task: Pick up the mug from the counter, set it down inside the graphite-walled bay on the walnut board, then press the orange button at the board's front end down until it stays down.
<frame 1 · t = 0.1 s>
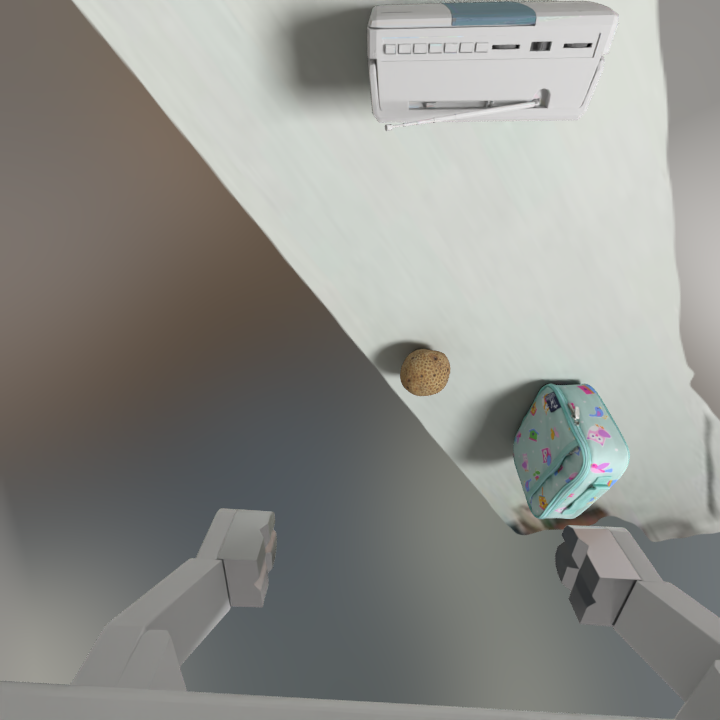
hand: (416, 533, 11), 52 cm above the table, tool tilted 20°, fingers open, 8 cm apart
lunch box: (546, 410, 89), on the table
stereo radio cassette player: (464, 47, 45), on the table
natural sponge: (423, 351, 78), on the table
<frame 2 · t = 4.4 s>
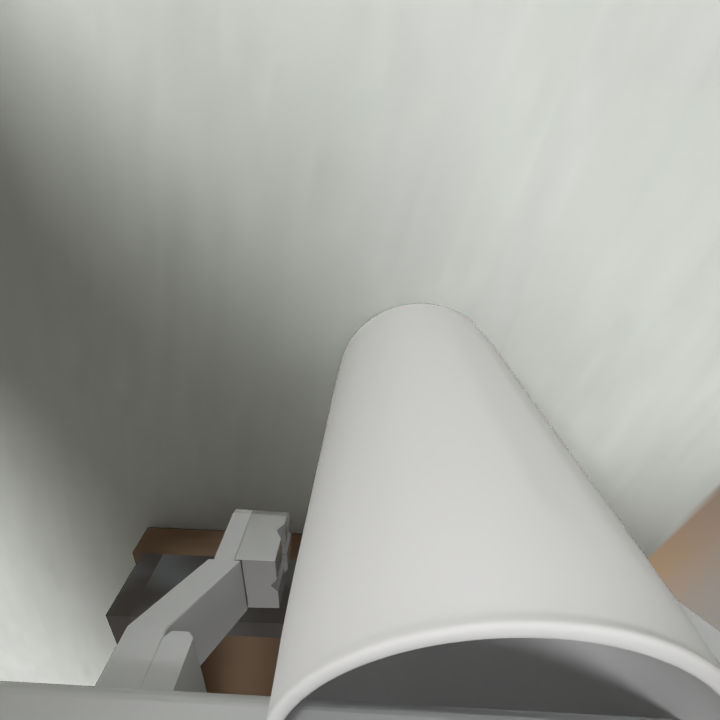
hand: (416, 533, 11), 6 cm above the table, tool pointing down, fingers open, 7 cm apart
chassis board: (292, 655, 26), on the table
mug: (399, 403, 17), on the table, touching gripper
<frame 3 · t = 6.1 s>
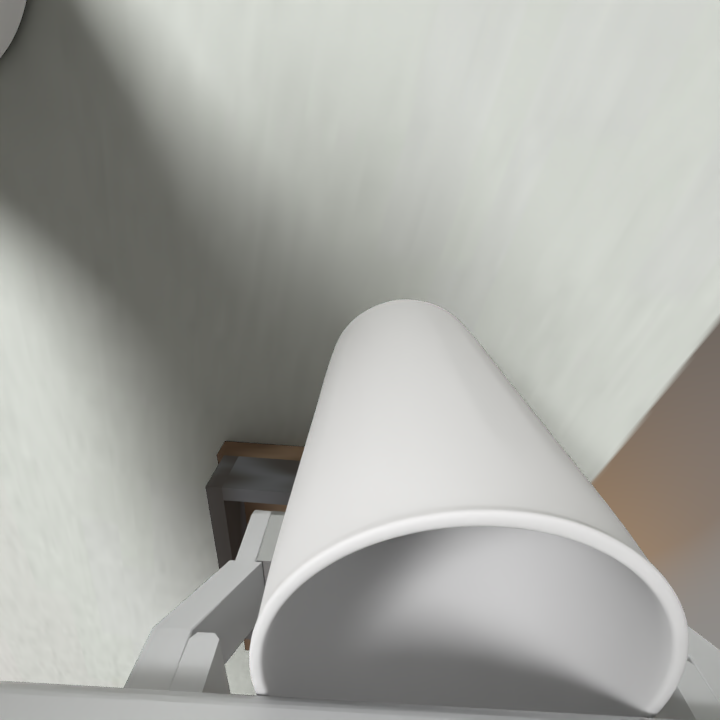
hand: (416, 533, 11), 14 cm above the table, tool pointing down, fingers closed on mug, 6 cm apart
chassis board: (323, 557, 33), on the table
mug: (389, 397, 18), point 7 cm above the table, touching gripper
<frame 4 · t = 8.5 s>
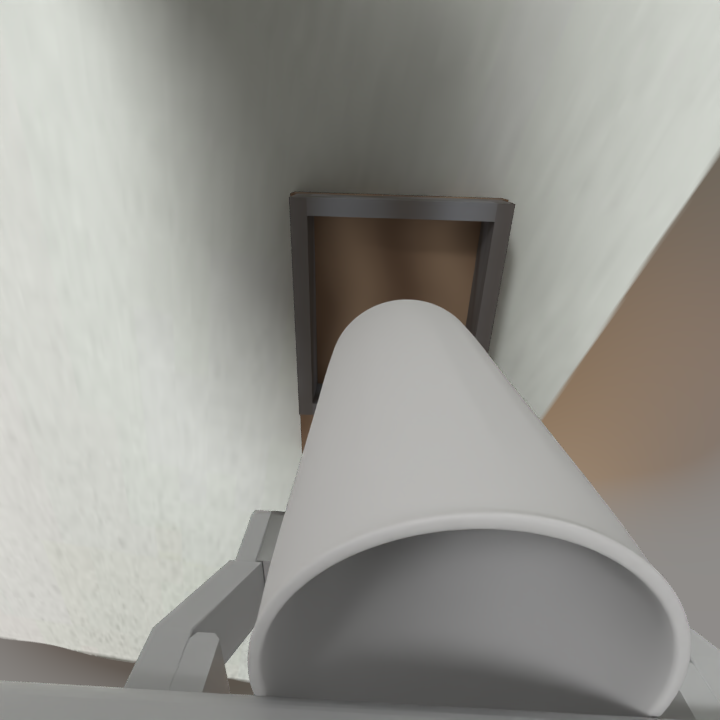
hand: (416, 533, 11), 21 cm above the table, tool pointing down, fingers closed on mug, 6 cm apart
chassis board: (388, 344, 32), on the table
mug: (389, 398, 18), point 14 cm above the table, touching gripper
when the fingers open (9 cm above the table, at t = 11.1 s): mug stays where it is, resting on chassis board.
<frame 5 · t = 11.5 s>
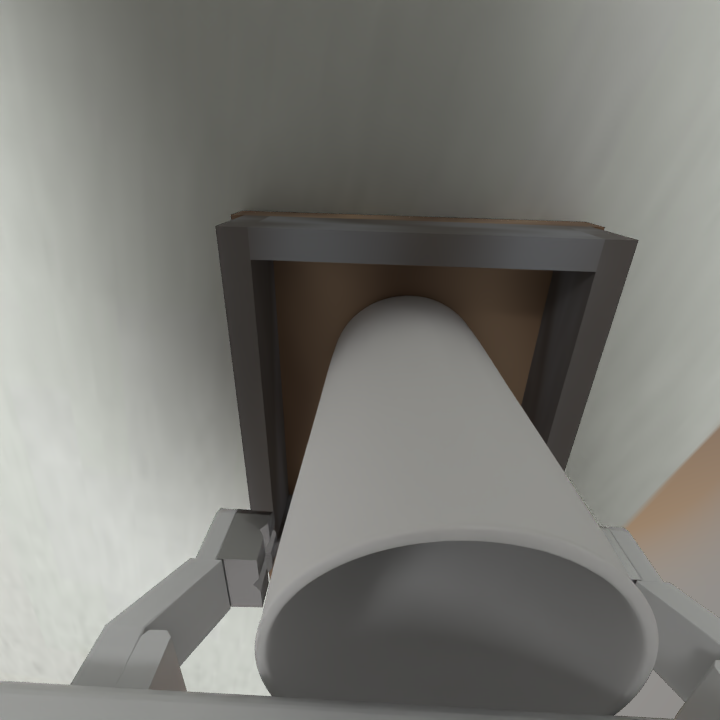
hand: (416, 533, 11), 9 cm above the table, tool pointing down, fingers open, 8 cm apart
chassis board: (395, 435, 21), on the table
mug: (391, 390, 19), point 1 cm above the table, touching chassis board
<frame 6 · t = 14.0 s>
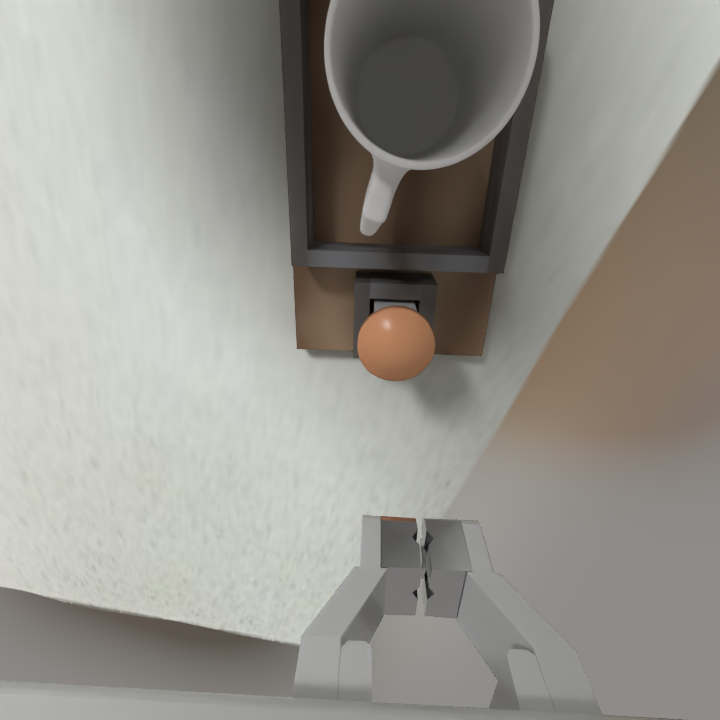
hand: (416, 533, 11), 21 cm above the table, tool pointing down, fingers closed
click button: (394, 331, 25), point 6 cm above the table, slide at 0.0 cm
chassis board: (397, 194, 27), on the table
mug: (395, 132, 24), point 1 cm above the table, touching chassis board
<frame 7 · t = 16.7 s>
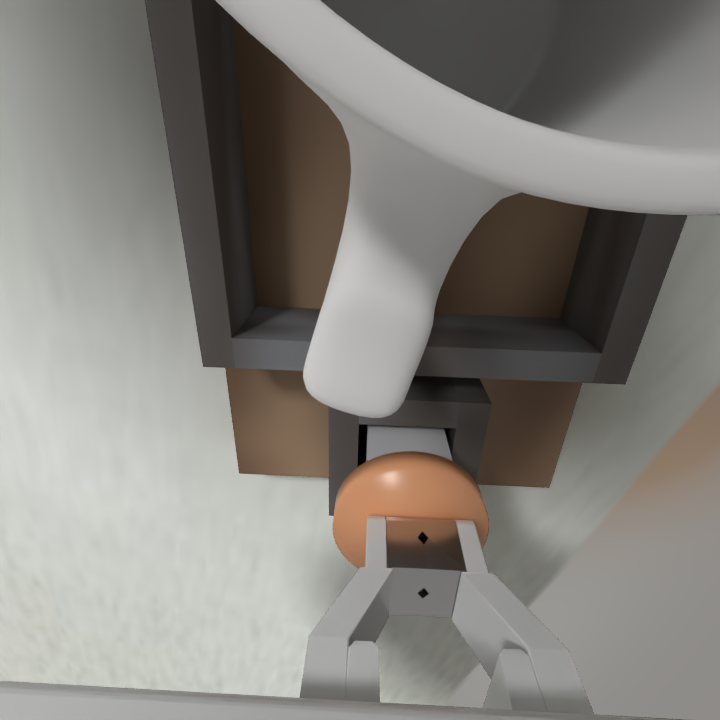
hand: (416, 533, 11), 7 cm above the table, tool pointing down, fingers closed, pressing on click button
click button: (404, 472, 14), point 5 cm above the table, slide at 1.0 cm, touching gripper
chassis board: (411, 220, 15), on the table
mug: (409, 101, 12), point 1 cm above the table, touching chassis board
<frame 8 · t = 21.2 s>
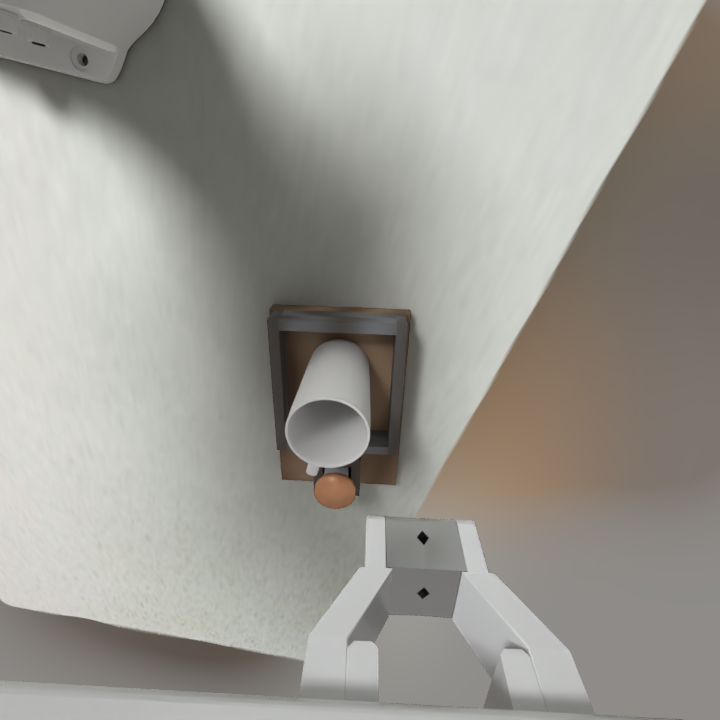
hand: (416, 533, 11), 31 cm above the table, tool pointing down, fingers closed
click button: (336, 477, 45), point 5 cm above the table, slide at 1.3 cm
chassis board: (340, 399, 46), on the table
mug: (335, 377, 43), point 1 cm above the table, touching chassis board
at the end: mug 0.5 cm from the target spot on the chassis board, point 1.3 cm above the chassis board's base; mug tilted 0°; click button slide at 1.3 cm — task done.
